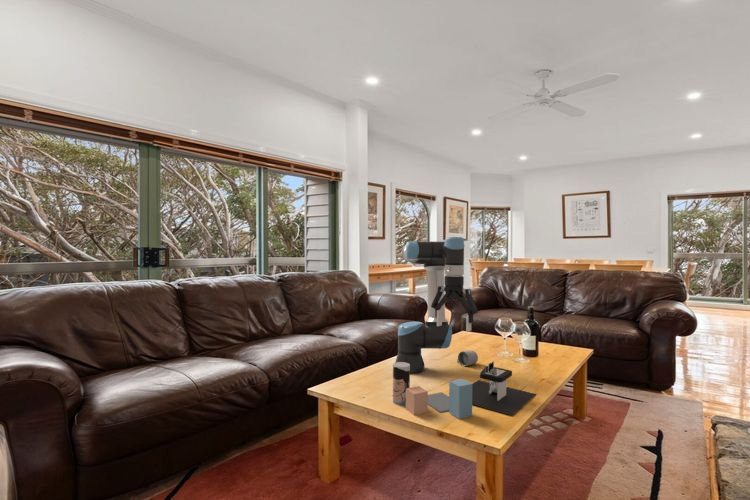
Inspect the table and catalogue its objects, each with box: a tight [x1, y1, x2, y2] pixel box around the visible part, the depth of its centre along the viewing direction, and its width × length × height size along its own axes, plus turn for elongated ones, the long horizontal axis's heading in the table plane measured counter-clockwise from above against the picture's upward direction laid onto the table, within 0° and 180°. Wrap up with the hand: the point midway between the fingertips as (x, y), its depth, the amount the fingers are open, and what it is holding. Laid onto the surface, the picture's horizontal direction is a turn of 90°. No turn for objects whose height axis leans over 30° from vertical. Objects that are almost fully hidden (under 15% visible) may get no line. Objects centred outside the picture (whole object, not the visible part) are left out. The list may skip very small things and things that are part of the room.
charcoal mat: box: [428, 392, 449, 414], centre depth 162 cm, size 16×12×1 cm
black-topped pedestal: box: [472, 360, 537, 416], centre depth 168 cm, size 28×26×13 cm
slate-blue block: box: [448, 378, 473, 420], centre depth 150 cm, size 6×6×12 cm
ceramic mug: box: [456, 349, 479, 367], centre depth 212 cm, size 11×8×8 cm
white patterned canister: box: [392, 362, 411, 406], centre depth 162 cm, size 7×7×15 cm
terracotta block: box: [405, 386, 429, 416], centre depth 154 cm, size 6×6×8 cm
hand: (453, 328), depth 162 cm, fingers open, 13 cm apart
